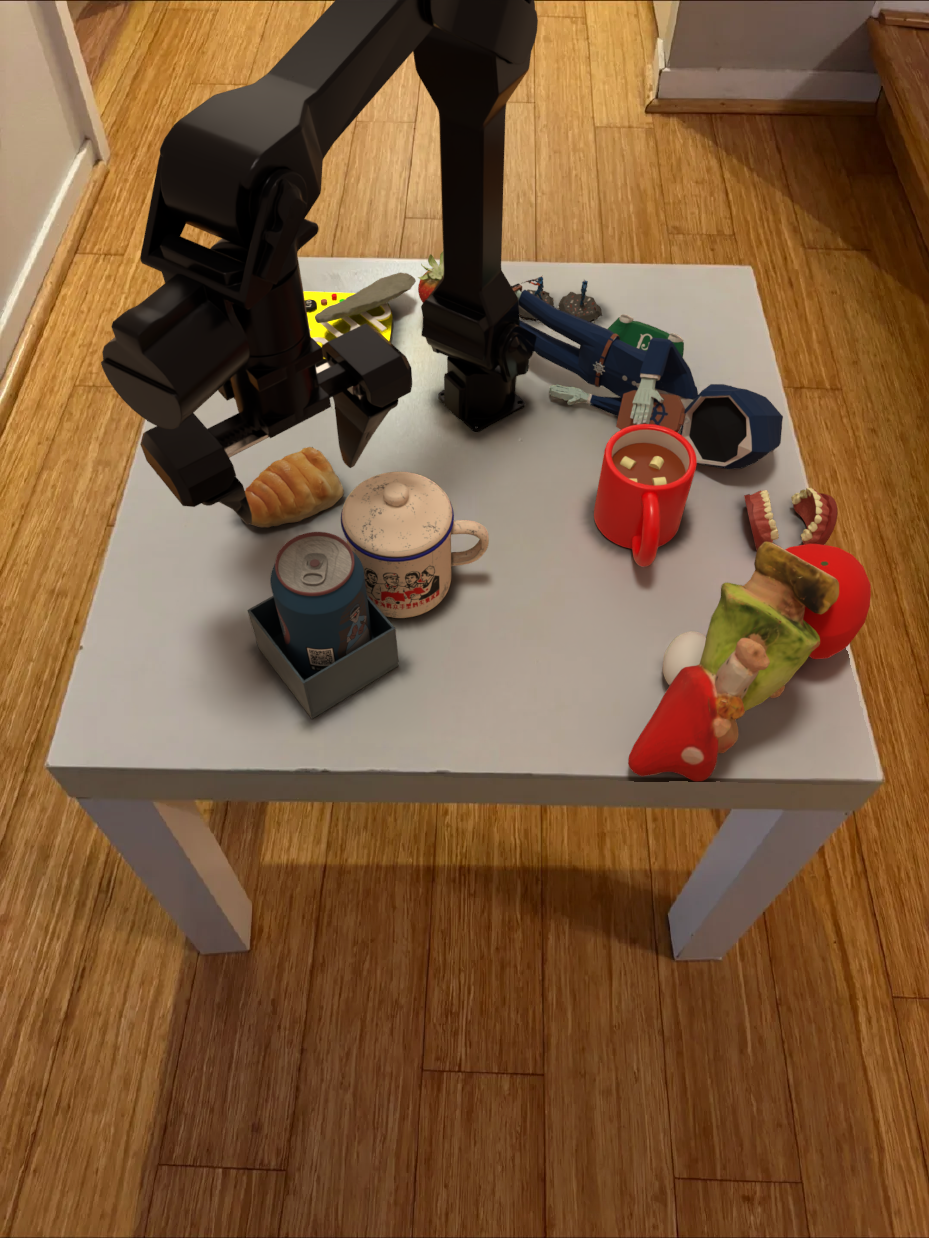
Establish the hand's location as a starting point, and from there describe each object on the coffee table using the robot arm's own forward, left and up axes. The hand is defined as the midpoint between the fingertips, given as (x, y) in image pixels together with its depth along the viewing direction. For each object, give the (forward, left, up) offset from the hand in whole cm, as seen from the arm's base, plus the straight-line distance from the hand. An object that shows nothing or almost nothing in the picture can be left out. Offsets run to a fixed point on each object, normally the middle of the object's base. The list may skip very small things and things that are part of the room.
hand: (298, 491), depth 75 cm
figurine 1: (-32, -15, -6) cm, 35 cm away
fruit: (-30, -22, -13) cm, 39 cm away
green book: (-42, -5, -13) cm, 44 cm away
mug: (-27, +12, -13) cm, 32 cm away
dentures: (-34, +17, -11) cm, 40 cm away
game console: (-17, -29, -13) cm, 36 cm away
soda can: (+3, +6, -12) cm, 14 cm away
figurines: (-41, -17, -13) cm, 46 cm away
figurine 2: (-26, +28, 0) cm, 39 cm away
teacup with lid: (-8, +4, -13) cm, 16 cm away
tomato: (-30, +27, -4) cm, 41 cm away
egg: (-19, +25, -13) cm, 34 cm away
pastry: (-4, -10, -13) cm, 17 cm away
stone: (-23, -25, -9) cm, 35 cm away
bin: (+3, +6, -13) cm, 14 cm away
